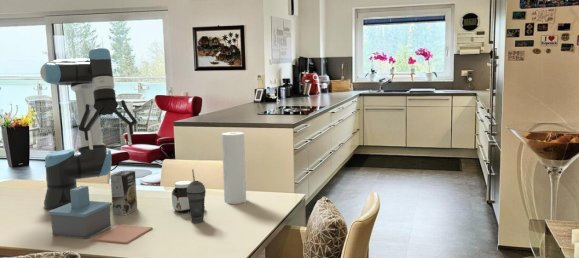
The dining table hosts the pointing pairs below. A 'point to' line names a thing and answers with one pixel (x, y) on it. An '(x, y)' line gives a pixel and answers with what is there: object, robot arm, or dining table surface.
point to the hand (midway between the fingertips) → (110, 146)
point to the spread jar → (181, 197)
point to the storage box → (81, 224)
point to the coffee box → (123, 192)
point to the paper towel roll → (234, 167)
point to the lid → (80, 204)
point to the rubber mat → (122, 234)
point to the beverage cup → (196, 200)
